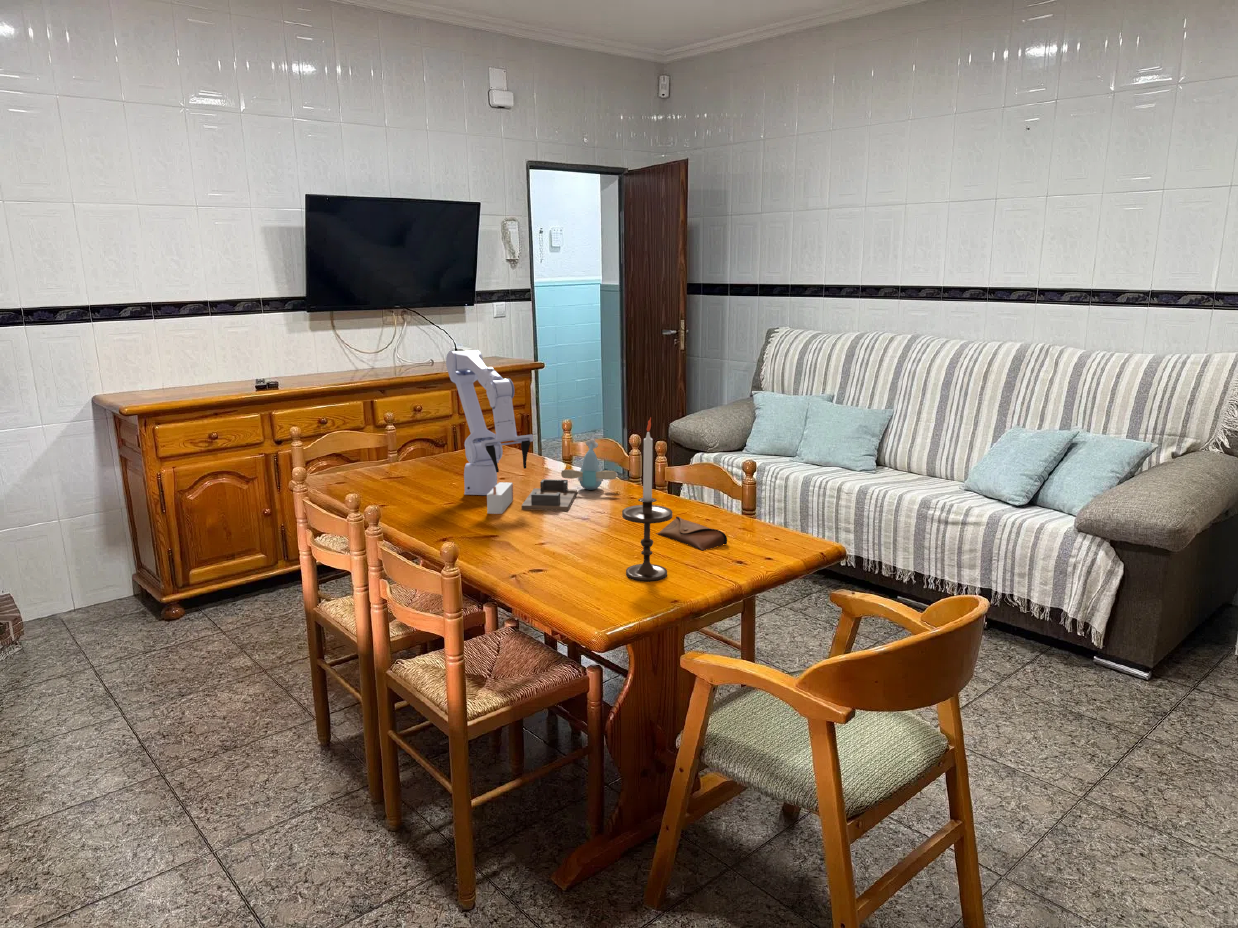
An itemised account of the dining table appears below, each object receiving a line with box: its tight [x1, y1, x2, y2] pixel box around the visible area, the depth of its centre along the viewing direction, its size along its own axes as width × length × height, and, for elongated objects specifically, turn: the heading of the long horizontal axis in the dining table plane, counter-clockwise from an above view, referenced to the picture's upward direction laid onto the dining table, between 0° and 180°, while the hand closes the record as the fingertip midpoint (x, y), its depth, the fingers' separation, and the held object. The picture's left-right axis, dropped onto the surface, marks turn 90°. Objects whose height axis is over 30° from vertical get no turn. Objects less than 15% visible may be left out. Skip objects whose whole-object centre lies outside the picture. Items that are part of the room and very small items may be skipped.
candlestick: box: [621, 417, 673, 583], centre depth 185 cm, size 11×11×35 cm
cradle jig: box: [521, 478, 578, 512], centre depth 247 cm, size 19×13×4 cm
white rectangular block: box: [486, 481, 514, 515], centre depth 241 cm, size 14×4×8 cm, turn 174°
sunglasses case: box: [655, 516, 728, 551], centre depth 214 cm, size 18×7×7 cm
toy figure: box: [560, 438, 619, 491], centre depth 260 cm, size 17×10×15 cm, turn 84°
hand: (511, 470), depth 240 cm, fingers open, 7 cm apart
